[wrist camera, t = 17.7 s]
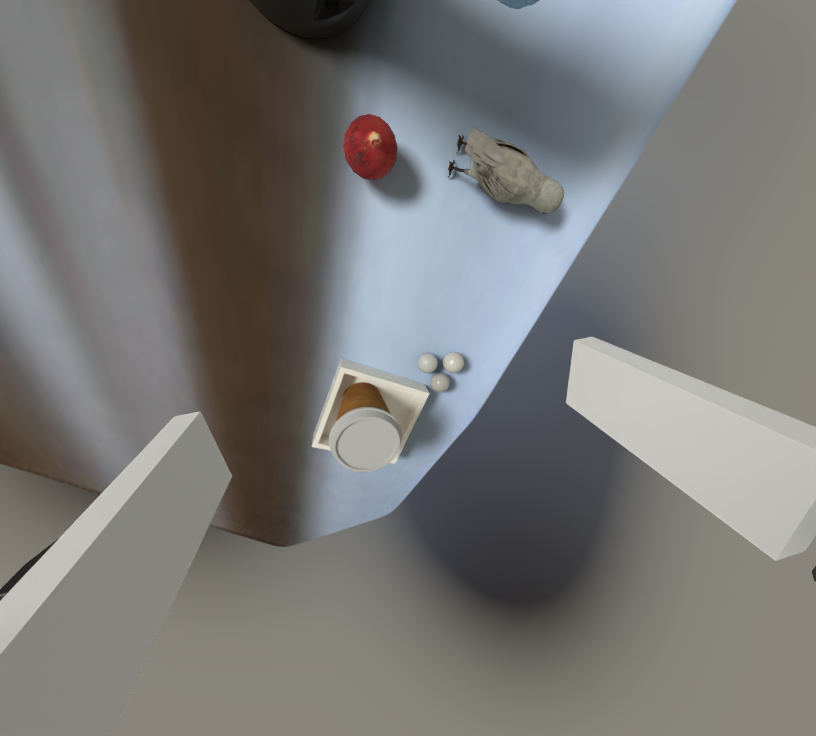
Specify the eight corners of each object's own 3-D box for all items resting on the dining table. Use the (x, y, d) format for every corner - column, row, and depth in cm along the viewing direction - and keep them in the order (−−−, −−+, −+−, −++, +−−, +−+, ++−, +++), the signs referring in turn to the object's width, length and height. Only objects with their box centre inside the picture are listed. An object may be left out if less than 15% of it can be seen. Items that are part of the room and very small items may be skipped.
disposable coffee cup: (330, 423, 49) (327, 476, 38) (333, 371, 46) (329, 412, 35) (387, 424, 51) (398, 473, 41) (394, 374, 48) (408, 414, 37)
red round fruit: (364, 194, 38) (368, 185, 31) (333, 148, 35) (330, 126, 28) (400, 164, 37) (414, 147, 30) (372, 115, 35) (379, 84, 28)
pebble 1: (412, 364, 49) (417, 373, 46) (420, 347, 48) (425, 354, 45) (429, 370, 50) (435, 378, 47) (437, 353, 49) (443, 361, 46)
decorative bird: (535, 226, 44) (569, 224, 37) (438, 177, 39) (457, 165, 32) (553, 187, 42) (592, 177, 35) (454, 130, 37) (478, 107, 30)
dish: (313, 434, 50) (311, 446, 47) (341, 358, 46) (340, 366, 43) (392, 451, 55) (395, 463, 52) (424, 384, 51) (429, 393, 48)
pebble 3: (436, 364, 50) (442, 372, 46) (445, 346, 48) (452, 353, 45) (454, 370, 51) (461, 378, 48) (463, 352, 50) (470, 360, 47)
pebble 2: (425, 383, 51) (430, 392, 48) (433, 367, 50) (438, 375, 47) (441, 388, 52) (447, 397, 49) (449, 372, 51) (455, 381, 48)
